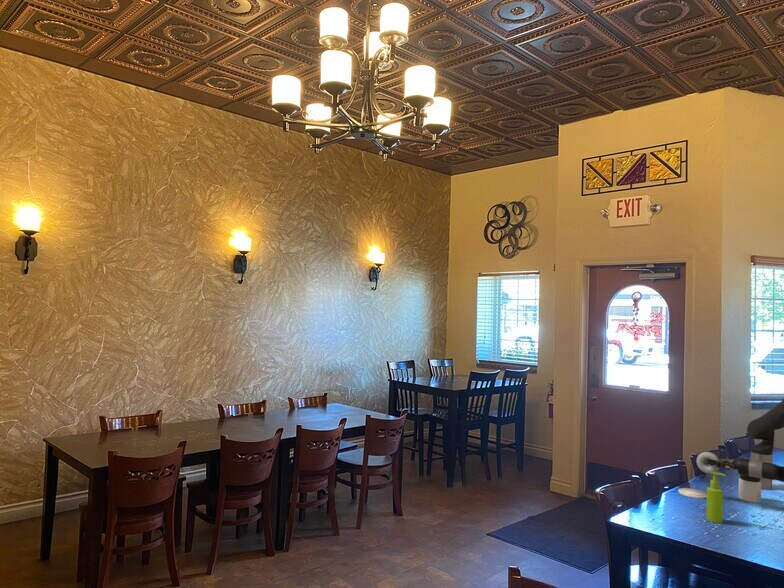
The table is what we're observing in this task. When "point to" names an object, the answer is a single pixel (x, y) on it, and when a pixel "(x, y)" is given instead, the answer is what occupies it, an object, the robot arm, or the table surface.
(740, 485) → the jar
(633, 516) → the table surface
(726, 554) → the table surface
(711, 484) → the soap dispenser
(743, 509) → the table surface
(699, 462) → the donut
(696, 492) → the plate
